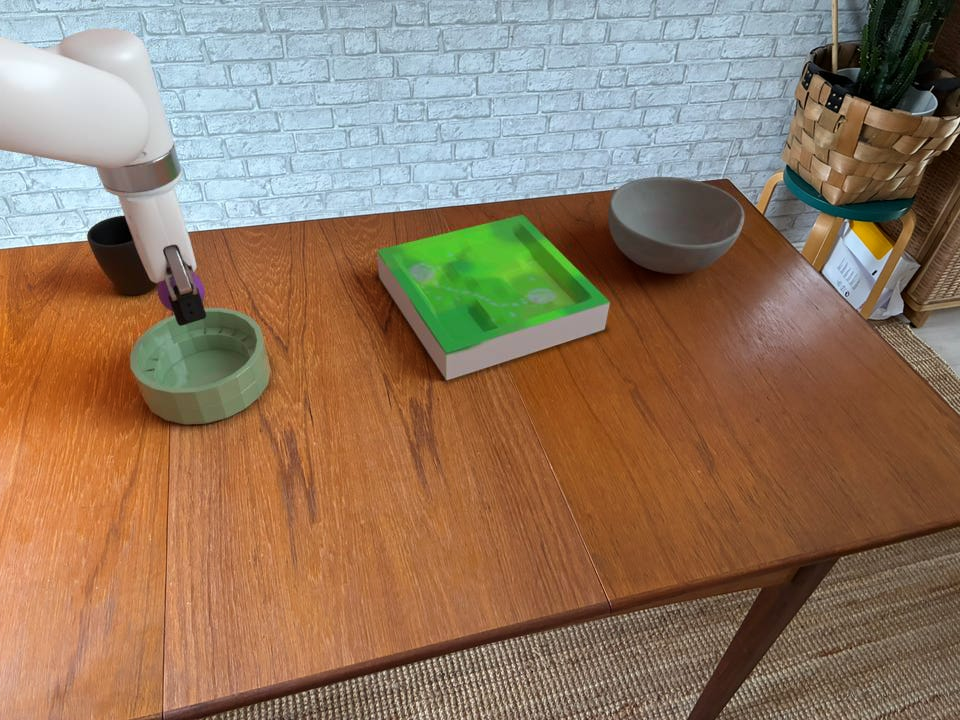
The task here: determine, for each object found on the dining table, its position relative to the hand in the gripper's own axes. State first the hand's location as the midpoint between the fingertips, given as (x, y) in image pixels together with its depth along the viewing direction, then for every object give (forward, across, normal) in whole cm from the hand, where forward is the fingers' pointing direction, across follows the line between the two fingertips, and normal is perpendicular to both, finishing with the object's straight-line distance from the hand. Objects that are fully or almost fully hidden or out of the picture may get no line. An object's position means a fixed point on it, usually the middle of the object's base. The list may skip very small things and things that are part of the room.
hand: (185, 305), depth 83 cm
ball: (0, 0, 0) cm, 0 cm away
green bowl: (+12, 0, 0) cm, 12 cm away
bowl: (+13, +8, +71) cm, 73 cm away
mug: (+13, -25, -2) cm, 28 cm away
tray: (+13, +4, +40) cm, 42 cm away
